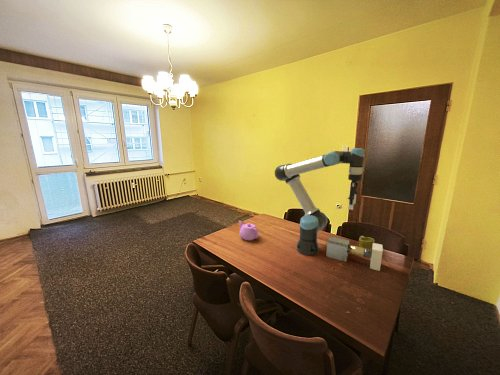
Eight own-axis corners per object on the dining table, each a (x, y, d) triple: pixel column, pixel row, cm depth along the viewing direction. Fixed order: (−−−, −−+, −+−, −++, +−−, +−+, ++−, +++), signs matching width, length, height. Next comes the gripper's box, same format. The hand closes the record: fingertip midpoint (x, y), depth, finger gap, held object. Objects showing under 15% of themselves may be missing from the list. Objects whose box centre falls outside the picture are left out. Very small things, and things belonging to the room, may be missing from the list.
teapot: (263, 238, 162) (263, 224, 160) (251, 244, 153) (251, 229, 150) (244, 231, 175) (244, 217, 173) (233, 236, 166) (232, 222, 163)
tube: (343, 253, 131) (344, 245, 130) (344, 249, 136) (345, 242, 135) (374, 261, 123) (375, 253, 121) (374, 257, 127) (376, 249, 126)
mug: (379, 252, 137) (375, 237, 137) (363, 255, 139) (358, 240, 140) (373, 246, 148) (369, 233, 149) (358, 249, 151) (354, 236, 152)
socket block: (369, 268, 123) (372, 249, 120) (370, 260, 131) (372, 242, 128) (379, 271, 121) (382, 251, 118) (379, 263, 128) (382, 244, 125)
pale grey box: (326, 256, 136) (327, 240, 134) (328, 250, 143) (330, 235, 141) (346, 261, 130) (347, 245, 127) (347, 255, 137) (349, 239, 135)
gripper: (360, 177, 116) (356, 213, 121) (363, 171, 137) (360, 202, 142) (345, 176, 120) (342, 211, 125) (351, 170, 141) (348, 200, 146)
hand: (351, 206), depth 133 cm, fingers open, 13 cm apart
